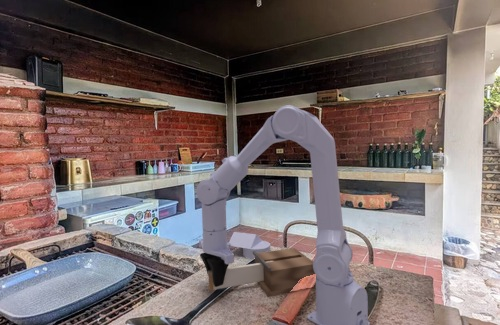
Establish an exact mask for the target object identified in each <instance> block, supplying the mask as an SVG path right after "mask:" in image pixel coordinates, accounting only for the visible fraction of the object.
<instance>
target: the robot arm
mask: <svg viewBox="0 0 500 325" xmlns="http://www.w3.org/2000/svg"><path fill="white" fill-rule="evenodd" d="M289 140H290V141H293V142H295V143H297V144H298V145H300V146H301V147H302V148H304V149H305V150H307V151H308V152H309V155H310V166H311V175H312V188H313V195H314V196H313V197H314V207H315V216H316V227H317V235H316V240H315V248H316V253H315V256H314V259H313V260H312V261H313V269H314V272H315V274H316V287H315V310H314V311H312V312H311V313H309V314H308V315H306V319H307V320H309V321H310V322H312V323H314V324H316V325H370V324H371V322H370V321H368V320H369V316H368V314H369V312H368V311H369V310H368V309H369V306H368V304H369V303H368V301H369V299H368V292H367V290H366V289H365V287H363V286H361V285H360V284H359V283H358V282H356V281H355V280H354V274H353V273H352V271H351V269H350V264H351V261H352V260H353V256H354V254H353V249H352V247H351V245H350V244H349V242H348V239H347V232H346V231H345V228H344V223H343V213H342V202H341V191H340V182H339V180H340V179H339V172H338V163H337V162H338V161H337V150H336V141H335V138H334V137H333V136H332V134H331V133H330V132H329V131H328V130H327V129H326V127H325V126H324V125H323V124H322V123H321V121H320V120H319V118H318V117H317V116H315V115H314V114H312V113H310V112H309V111H306V110H303V109H300V108H299V107H298V106H297V107H296V106H295V105H291V104H290V105H289V104H287V105H282V106H281V107H279V108H278V109H276V111H275V113H274V114H273V115H271V116H270V117H268V118H267V119H266V120H265V122H264V124H263V126H262V127H261V128H260V129H259V130H258V131H257V133H256V134H255V135H254V136H253V137H252V139H251V140H249V142H248V143H247V144H246V145H245V146H244V148H242V150H241V151H240V152H239V153H238V155H230V156H229V157H224V158H223V159H221V162H222V164H221V165H220V166H219V167H218V168H217V169H216V170H215V171H213V172H211V173H210V174H209V178H208V179H207V178H206V179H205V178H204V179H202V180H200V182H199V183H198V184H197V187H196V190H195V191H196V197H197V199H198V201H199V202H200V203H201V220H202V221H201V222H202V238H200V239H198V244H199V245H198V246H199V248H201V250H202V253H200V254H199V257H200V258H201V261H202V262H203V264H204V267H205V269H206V274H207V275H208V271H210V270H211V271H212V277H213V283H214V286H215V287H218V286H221V285H223V283H224V278H225V274H226V270H227V268H229V265H230V264H233V263H235V254H234V253H233V252H232V251H231V249H230V247H232V246H231V243H229V241H228V238H227V237H228V233H227V200H228V198H229V197H230V194H231V191H232V190H233V189H234V188H235V187H236V186H237V185H238V184H239V183H240V182H241V181H242V180H243V179H244V178H245V177H247V175H248V173H249V166H250V165H251V164H252V163H253V162H254V161H255V160H256V159H257V158H259V156H261V155H262V154H263V153H264V152H265V151H266V150H267V149H268V148H270V146H272V145H273V144H276V143H281V142H285V141H289Z"/></svg>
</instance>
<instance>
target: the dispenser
mask: <svg viewBox="0 0 500 325" xmlns="http://www.w3.org/2000/svg"><path fill="white" fill-rule="evenodd" d="M253 255H254V256H255V260H254V264H255V263H261V264H262V265H263V266H264V281H260V282H256V283H257V285H258V286H259V287H260V289H261V290H262V291H263V292H264V293H265V295H266V296H267V298H269V297H273V296H278V295H284V294H288V293H291V292H290V291H291V290H292V289H293V287H294V286H295V285H296V284H297V283H298V281H299V280H300V279H302V278H304V277H306V276H310V275H313V274H315V272H314V269H313V261H314V260H311V259H310V258H309V257H307V256H306V255H304V254H303V253H302V252H301V251H299V250H297V249H296V248H294V247H292V248H284V249H278V250H270V252H263V253H256V252H255V251H253ZM268 261H272V262H268ZM314 288H315V289H316V283H315V285H314V287H313V288H312V289H314Z"/></svg>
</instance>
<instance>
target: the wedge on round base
mask: <svg viewBox="0 0 500 325" xmlns="http://www.w3.org/2000/svg"><path fill="white" fill-rule="evenodd" d="M228 242H229V243H231V247H234V248H242V255H244V256H245V257H247V258H246V259H248V258H250V259H249V260H252V259H254V258H255V256H254V255H253V251H255V252H256V253H263V252H270V251H271V243H270V242H269V241H266V240H263V239H262V238H260V237H259V236H258V235H257V234H256V233H247V232H239V231H233V233H232V236H231V237H230V239H229V241H228ZM244 256H243V257H244ZM245 257H244V258H245Z"/></svg>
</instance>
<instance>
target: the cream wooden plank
mask: <svg viewBox="0 0 500 325" xmlns="http://www.w3.org/2000/svg"><path fill="white" fill-rule="evenodd" d="M268 262H272V261H268ZM207 277H208V290H209V291H215V290H221V289H225V288H231V287H236V286H237V287H238V286H242V285H246V284H247V285H249V284H254V283H257V282H260V281H264V266H263V265H262V264H261V263H255V262H254V263H250V264H244V265H237V266H231V267H227V270H226V274H225V278H224V283H223V285H221V286H218V287H215V286H214V283H213V277H212V271H211V270H210V271H208V274H207Z"/></svg>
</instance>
